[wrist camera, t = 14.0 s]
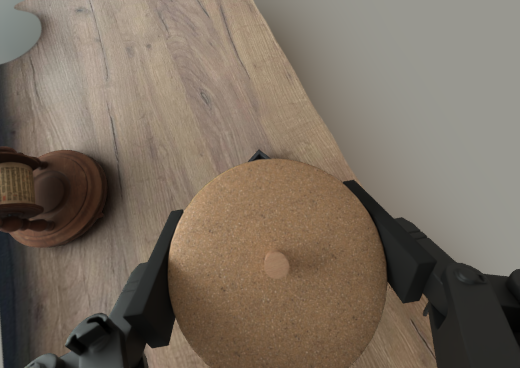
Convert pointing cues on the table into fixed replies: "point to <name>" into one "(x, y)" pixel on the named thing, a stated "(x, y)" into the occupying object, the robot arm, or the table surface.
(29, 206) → the scroll
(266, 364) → the trinket box
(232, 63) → the table surface
